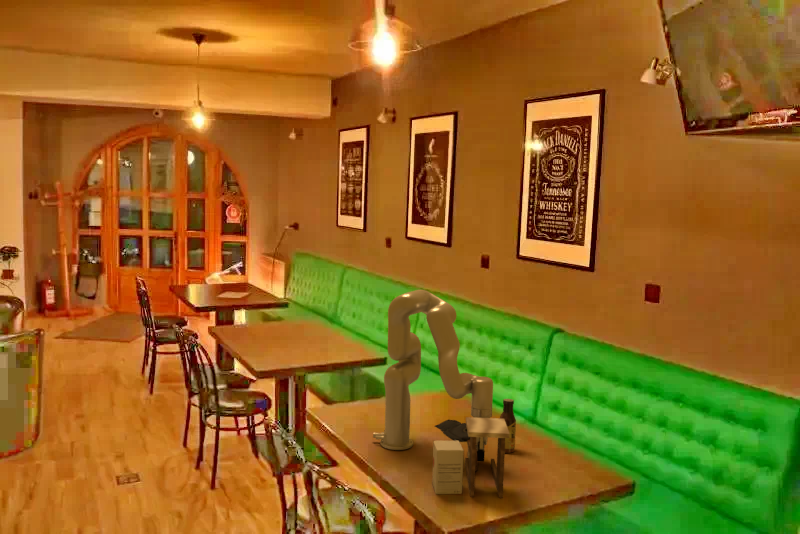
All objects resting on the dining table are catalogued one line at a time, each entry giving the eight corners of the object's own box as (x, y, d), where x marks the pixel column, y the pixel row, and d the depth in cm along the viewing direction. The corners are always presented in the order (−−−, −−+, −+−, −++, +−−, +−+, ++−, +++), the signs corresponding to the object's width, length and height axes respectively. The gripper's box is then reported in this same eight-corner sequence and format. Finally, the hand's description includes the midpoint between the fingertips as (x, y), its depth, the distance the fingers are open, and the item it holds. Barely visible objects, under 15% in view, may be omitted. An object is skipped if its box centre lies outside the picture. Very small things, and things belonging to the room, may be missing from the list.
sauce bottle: (514, 454, 259) (516, 403, 257) (497, 453, 260) (499, 401, 258) (514, 448, 266) (517, 398, 263) (498, 446, 267) (500, 397, 265)
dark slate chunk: (458, 424, 293) (459, 413, 293) (490, 441, 274) (490, 429, 274) (428, 429, 286) (428, 418, 285) (458, 446, 267) (459, 435, 266)
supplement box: (431, 482, 232) (432, 439, 230) (457, 482, 232) (459, 439, 231) (435, 494, 223) (436, 450, 221) (462, 494, 223) (464, 449, 222)
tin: (477, 474, 240) (478, 451, 239) (468, 474, 240) (469, 451, 239) (474, 458, 255) (475, 436, 254) (465, 457, 255) (466, 435, 254)
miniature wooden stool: (466, 496, 222) (468, 432, 220) (461, 464, 249) (463, 406, 246) (506, 498, 221) (509, 433, 219) (497, 465, 248) (500, 407, 246)
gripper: (469, 404, 255) (468, 452, 257) (472, 417, 240) (470, 468, 242) (490, 405, 255) (488, 453, 257) (493, 418, 240) (491, 469, 242)
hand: (479, 460), depth 249 cm, fingers closed
